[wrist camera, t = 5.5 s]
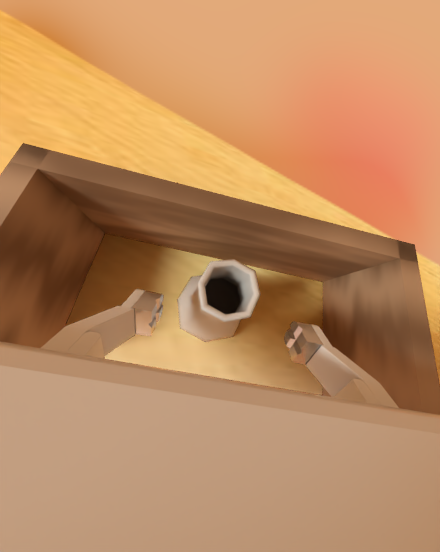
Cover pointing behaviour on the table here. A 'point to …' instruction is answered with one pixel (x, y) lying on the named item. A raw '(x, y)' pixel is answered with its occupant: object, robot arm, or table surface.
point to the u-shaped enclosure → (214, 243)
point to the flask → (218, 300)
